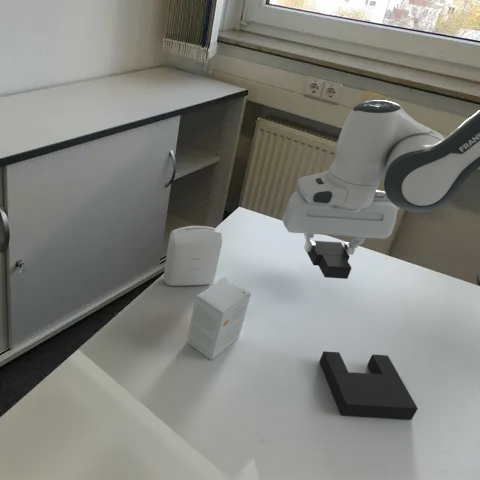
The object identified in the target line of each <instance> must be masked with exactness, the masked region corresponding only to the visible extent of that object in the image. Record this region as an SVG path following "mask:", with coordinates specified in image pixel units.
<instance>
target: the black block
mask: <svg viewBox="0 0 480 480" xmlns="http://www.w3.org/2000/svg"><path fill="white" fill-rule="evenodd" d="M313 241H314V242H315V244H316V248H315V249H314V252H306V253H307V255H308V257H309V260H310V261H311V264H312V265H313V266H318V268H319V270H320V271H321V273H322V275H323V277H324V278H327V279H328V278H329V279H330V278H331V279H343V280H346V279H347V280H348V278H349V276H350V273H351V270H352V266H351V264H350V262H349V259H350V254H348V253H347V251H346V250H345V248H344V244H343V243H342V242H340V241H324V240H313Z"/></svg>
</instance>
